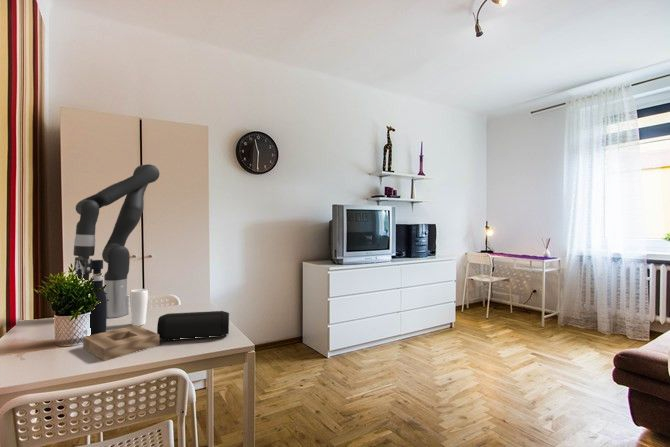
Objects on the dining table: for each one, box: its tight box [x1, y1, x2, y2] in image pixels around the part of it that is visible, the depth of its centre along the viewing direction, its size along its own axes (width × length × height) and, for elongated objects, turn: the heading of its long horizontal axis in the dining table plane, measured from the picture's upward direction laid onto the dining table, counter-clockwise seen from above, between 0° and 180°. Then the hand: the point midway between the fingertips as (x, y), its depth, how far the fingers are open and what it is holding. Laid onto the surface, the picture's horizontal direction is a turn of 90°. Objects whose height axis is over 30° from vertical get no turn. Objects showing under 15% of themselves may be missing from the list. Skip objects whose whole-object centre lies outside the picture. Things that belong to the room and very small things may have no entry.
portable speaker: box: [156, 310, 230, 341], centre depth 139 cm, size 26×10×10 cm, turn 106°
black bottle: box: [90, 259, 107, 335], centre depth 136 cm, size 6×6×30 cm
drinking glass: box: [129, 288, 149, 326], centre depth 153 cm, size 7×7×15 cm
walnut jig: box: [82, 325, 160, 362], centre depth 128 cm, size 18×18×4 cm
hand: (81, 281), depth 155 cm, fingers open, 8 cm apart
